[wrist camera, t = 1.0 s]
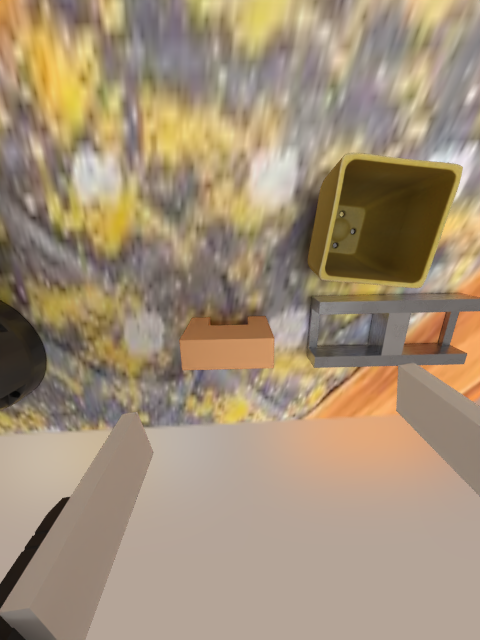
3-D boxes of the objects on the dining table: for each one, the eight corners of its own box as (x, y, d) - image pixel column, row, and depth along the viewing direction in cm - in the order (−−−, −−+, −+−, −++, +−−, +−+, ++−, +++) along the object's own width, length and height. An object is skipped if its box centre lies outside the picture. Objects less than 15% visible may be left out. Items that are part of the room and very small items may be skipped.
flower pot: (365, 275, 28) (424, 289, 19) (292, 268, 27) (318, 280, 19) (387, 191, 25) (467, 164, 16) (305, 182, 24) (343, 150, 16)
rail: (306, 356, 31) (314, 367, 28) (311, 296, 28) (320, 302, 25) (442, 352, 31) (464, 364, 28) (459, 293, 28) (484, 298, 25)
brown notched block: (194, 341, 30) (182, 370, 23) (192, 317, 29) (179, 340, 22) (265, 339, 30) (273, 367, 23) (265, 316, 29) (274, 338, 22)
